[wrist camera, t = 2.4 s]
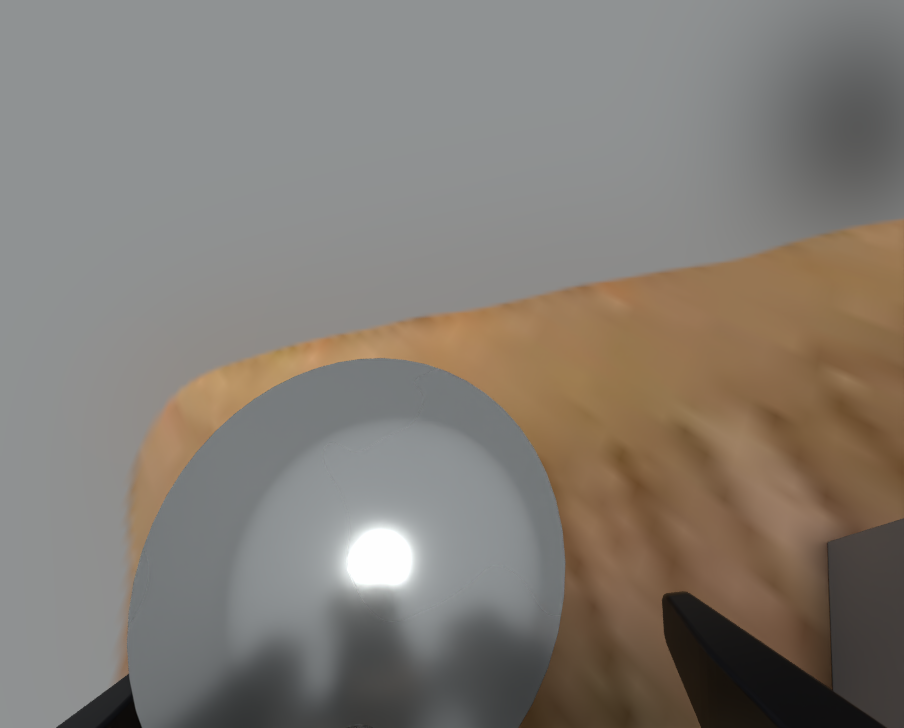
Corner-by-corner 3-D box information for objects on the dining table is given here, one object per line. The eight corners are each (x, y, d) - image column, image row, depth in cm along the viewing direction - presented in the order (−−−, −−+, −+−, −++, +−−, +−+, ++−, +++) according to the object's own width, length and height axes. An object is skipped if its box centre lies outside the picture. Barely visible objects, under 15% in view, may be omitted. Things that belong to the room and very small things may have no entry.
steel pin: (508, 721, 14) (472, 1008, 3) (373, 653, 16) (30, 691, 5) (548, 562, 16) (607, 412, 5) (427, 516, 18) (281, 325, 7)
